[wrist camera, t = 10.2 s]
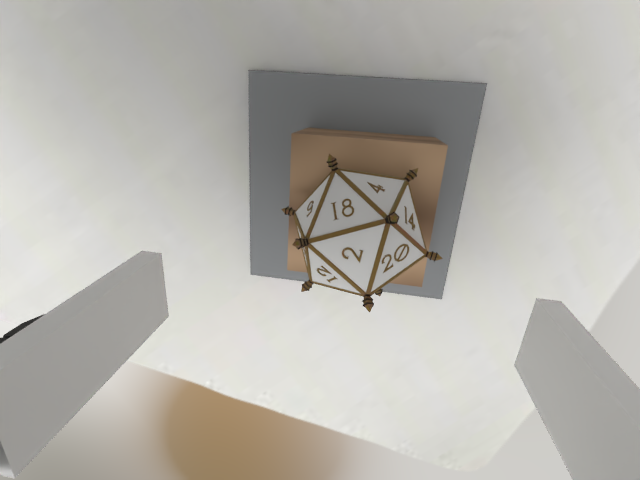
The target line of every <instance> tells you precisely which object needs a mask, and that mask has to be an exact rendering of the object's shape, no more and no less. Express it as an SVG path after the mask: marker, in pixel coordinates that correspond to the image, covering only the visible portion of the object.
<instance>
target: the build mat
mask: <svg viewBox="0 0 640 480" xmlns="http://www.w3.org/2000/svg"><path fill="white" fill-rule="evenodd" d="M486 85H487V83H470V82H453V81H435V80H417V79H400V78H382V77H364V76H346V75H329V74H311V73H293V72H276V71H258V70H249V162H250V262H251V275H258V276H266V277H274V278H281V279H289V280H297V281H305V282H306V281H308V280H309V277H308V273H306V272H298V271H290V270H287V262H288V229H289V215H288V214H287V215H285V213H284V212H283V211H282V210H281V209H283V208H286V207H288V206H289V197H290V164H291V133H294V132H297V131H300V130H303V129H306V128H320V129H333V130H347V131H360V132H373V133H386V134H400V135H413V136H426V137H435V138H437V139H439V140H440V141H442V142H443V143H445V144H447V145H448V149H447V154H446V160H445V165H444V170H443V176H442V181H441V187H440V192H439V198H438V203H437V208H436V214H435V219H434V225H433V230H432V235H431V241H430V246H429V252H432V251H433V252H435V253H436V252H438V254H439V255H440V256H441V257H442V258H443V259H441V260H437V261H435V262H434V260H430V259H429V258H427V263H426V268H425V273H424V279H423V284H422V287H417V286H409V285H401V284H393V283H388V284H387V285H385V286H384V287H382V288H381V289H383V291H382V292H390V293H397V294H405V295H413V296H421V297H428V298H436V299H442V295H443V290H444V285H445V281H446V276H447V271H448V266H449V262H450V257H451V252H452V247H453V243H454V238H455V233H456V228H457V223H458V219H459V214H460V209H461V204H462V200H463V195H464V190H465V185H466V181H467V176H468V171H469V166H470V162H471V157H472V152H473V147H474V142H475V138H476V133H477V128H478V123H479V119H480V114H481V109H482V104H483V100H484V95H485V90H486Z"/></svg>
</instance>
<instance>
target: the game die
mask: <svg viewBox="0 0 640 480" xmlns="http://www.w3.org/2000/svg"><path fill="white" fill-rule="evenodd" d="M336 160H337V159H336V158H334V157H333V156H332V155H331V154H329V156H328V161H327V162H326V163H328V165H329V166H328V167H330V168H331V170H332V171H331V172H330V173H329V174H328V175H327V176H326V177H325V179H324V180H323V181H322V182H321V183H320V184H319V185H318V186H317V187H316V188H315V189H314V191H313V192H312V193H311V194H310V195H309V196H308V197H307V198H306V199H305V200H304V202H303V203H302V204H301V205H300V206H299V207H298V208H297V209H296V210H293V209H292V207H291V208H289V206H288V207H286V208H283V209H281V210H282V211H283V212H284V213H285V215H287V214H288V215H289V216H291V215H293V216H294V220H295V224H296V228H297V232H298V236H299V239H295V242H294V243H293V244H292V245H293V246H295V247H296V248H297V249H298V250H299V249H300V248H302V252H303V256H304V260H305V264H306V269H307V273H308V277H309V280H308V281H306V282H305V283H304V284H302V291H307V290H308V291H309V289H310V288H312V284H313V283H315V284H318V285H322V286H326V287H330V288H333V289H337V290H341V291H345V292H348V293H352V294H356V295H360V296H363V297H364V300H363V302H364V305H363V306H364V307H365V308H366V309H367V310H368V311H369V312H370V311H371V308H372V307H373V305H374V303H373V302H372V301H373V299H372V298H371V297H370V296H371V295H373V294H374V293H375V294H376V295H379V296H380V295H381V294H382V291H383V289H381V288H382V287H384V286H385V285H387V284H388V283H389V282H391V281H392V280H394V279H395V278H396V277H398V276H399V275H401V274H402V273H403V272H405V271H406V270H408V269H409V268H410V267H412V266H413V265H415V264H416V263H417V262H419V261H420V260H422V259H423V258H424V257H427V258H429V259H430V260H434V262H435V261H437V260H441V259H443V258H442V257H441V256H440V255H439V254H438V252H436V253H435V252H433V251H432V252H428V251H427V249H426V245H425V241H424V237H423V234H422V230H421V226H420V222H419V219H418V215H417V211H416V207H415V204H414V200H413V196H412V192H411V189H410V185H409V181H411V180H414V178H415V177H417V171H418V168H416V169H413V170H409V172H408V173H406V174H407V175H406V177H405V178H400V177H393V176H387V175H380V174H374V173H367V172H360V171H354V170H347V169H341V168H337V164H338V163H337V162H336ZM302 291H301V292H302Z"/></svg>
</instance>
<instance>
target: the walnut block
mask: <svg viewBox="0 0 640 480" xmlns="http://www.w3.org/2000/svg"><path fill="white" fill-rule="evenodd" d="M447 149H448V145H447V144H445V143H443V142H442V141H440V140H439V139H437V138H435V137H426V136H413V135H400V134H386V133H373V132H360V131H347V130H333V129H320V128H306V129H303V130H300V131H297V132H294V133H291V164H290V197H289V208H291V207H292V209H293V210H296V209H297V208H298V207H299V206H300V205H301V204H302V203H303V202H304V200H305V199H306V198H307V197H308V196H309V195H310V194H311V193H312V192H313V191H314V189H315V188H316V187H317V186H318V185H319V184H320V183H321V182H322V181H323V180H324V179H325V177H326V176H327V175H328V174H329V173H330V172H331V171H332V170H331V168H330V167H328V166H329V165H328V163H326V162H327V161H328V156H329V154H331V155H332V156H333V157H334V158H336V159H337V160H336V162H337V163H338V164H337V168H341V169H347V170H354V171H360V172H367V173H374V174H380V175H387V176H393V177H400V178H405V177H406V175H407V174H406V173H408V172H409V170H413V169H416V168H418V171H417V177H415V178H414V180H411V181H409V185H410V189H411V192H412V196H413V200H414V204H415V207H416V211H417V215H418V219H419V222H420V226H421V230H422V234H423V237H424V241H425V245H426V249H427V251H428V252H429V246H430V241H431V235H432V230H433V225H434V219H435V214H436V208H437V203H438V198H439V192H440V187H441V181H442V176H443V170H444V165H445V160H446V154H447ZM295 239H299V236H298V232H297V228H296V224H295V220H294V216H293V215H291V216H289V229H288V262H287V270H290V271H298V272H306V273H307V269H306V264H305V260H304V256H303V252H302V248H300V249H299V250H298V249H297V248H296V247H295V246H293V245H292V244H293V243H294V242H295ZM426 263H427V257H424V258H423V259H422V260H420V261H419V262H417V263H416V264H415V265H413V266H412V267H410V268H409V269H408V270H406V271H405V272H403V273H402V274H401V275H399V276H398V277H396V278H395V279H394V280H392V281H391V282H389V283H393V284H401V285H409V286H417V287H422V284H423V279H424V273H425V268H426Z"/></svg>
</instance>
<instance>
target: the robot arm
mask: <svg viewBox="0 0 640 480" xmlns="http://www.w3.org/2000/svg"><path fill="white" fill-rule="evenodd" d="M168 316H169V315H168V306H167V298H166V289H165V281H164V272H163V264H162V255H161V253H155V252H147V251H141V252H140V253H138V254H136V255H135V256H133V257H132V258H130V259H129V260H127V261H126V262H124V263H123V264H121V265H120V266H118V267H117V268H115V269H114V270H112V271H111V272H109V273H107V274H106V275H104V276H103V277H101V278H100V279H98V280H97V281H95V282H94V283H92V284H91V285H89V286H88V287H86V288H85V289H83V290H82V291H80V292H79V293H77V294H75V295H74V296H72V297H71V298H69V299H68V300H66V301H65V302H63V303H62V304H60V305H59V306H57V307H56V308H54V309H53V310H51V311H50V312H48V313H47V314H45V315H41V316H39V317H36V318H34V319H32V320H29V321H27V322H24V323H22V324H20V325H19V326H17V327H16V328H14V329H13V330H11V331H9V332H8V333H6V334H5V335H4V336H3V338H0V475H1V476H7V477H11V478H16V476H18V474H19V473H20V472H21V471H22V470H23V469H24V468H25V467H26V466H27V465H28V464H29V463H30V462H31V461H32V459H34V457H35V456H36V455H37V454H38V453H39V452H40V451H41V450H42V449H43V448H44V447H45V446H46V445H47V444H48V443H49V442H50V441H51V439H53V437H54V436H55V435H56V434H57V433H58V432H59V431H60V430H61V429H62V428H63V427H64V426H65V425H66V424H67V423H68V422H69V421H70V420H71V419H72V418H73V417H74V415H75V414H76V413H77V412H78V411H79V410H80V409H81V408H82V407H83V406H84V405H85V404H86V403H87V402H88V401H89V400H90V399H91V398H92V396H93V395H94V394H95V393H96V392H97V391H98V390H99V389H100V388H101V387H102V386H103V385H104V384H105V383H106V381H108V380H109V379H110V378H111V377H112V375H113V374H114V373H115V372H116V371H117V370H118V369H119V368H120V367H121V366H122V365H123V364H124V363H125V362H126V361H127V360H128V359H129V358H130V356H131V355H132V354H133V353H134V352H135V351H136V350H137V349H138V348H139V347H140V346H141V345H142V344H143V343H144V342H145V341H146V340H147V339H148V338H149V336H150V335H151V334H152V333H153V332H154V331H155V330H156V329H157V328H158V327H159V326H160V325H161V324H162V323H163V322H164V321H165V320H166V319H167V318H168ZM515 367H516V369H517V371H518V373H519V375H520V377H521V379H522V381H523V383H524V385H525V387H526V389H527V391H528V393H529V395H530V397H531V399H532V401H533V403H534V405H535V407H536V408H537V410H538V412H539V414H540V416H541V418H542V420H543V422H544V424H545V426H546V428H547V430H548V432H549V434H550V436H551V438H552V440H553V442H554V444H555V446H556V448H557V450H558V451H559V454H560V456H561V457H562V459H563V461H564V463H565V465H566V467H567V469H568V471H569V473H570V475H571V477H572V479H573V480H640V389H639V388H638V387H637V385H636V384H635V383H634V382H633V381H632V380H631V379H630V378H629V376H628V375H627V374H626V373H625V372H624V371H623V370H622V369H621V368H620V367H619V365H618V364H617V363H616V362H615V361H614V360H613V359H612V358H611V356H610V355H609V354H608V353H607V352H606V351H605V350H604V349H603V347H601V346H600V344H599V343H598V342H597V341H596V340H595V339H594V337H593V336H592V335H591V334H590V333H589V332H588V331H587V330H586V329H585V327H584V326H583V325H582V324H581V323H580V322H579V321H578V320H577V318H576V317H575V316H574V315H573V314H572V313H571V312H570V311H569V310H568V308H567V307H566V306H565V305H564V304H563V303H562V302H561V301H554V300H546V299H537V298H536V301H535V304H534V307H533V310H532V313H531V316H530V319H529V322H528V325H527V328H526V331H525V334H524V337H523V340H522V343H521V347H520V350H519V353H518V356H517V359H516V362H515Z"/></svg>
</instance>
